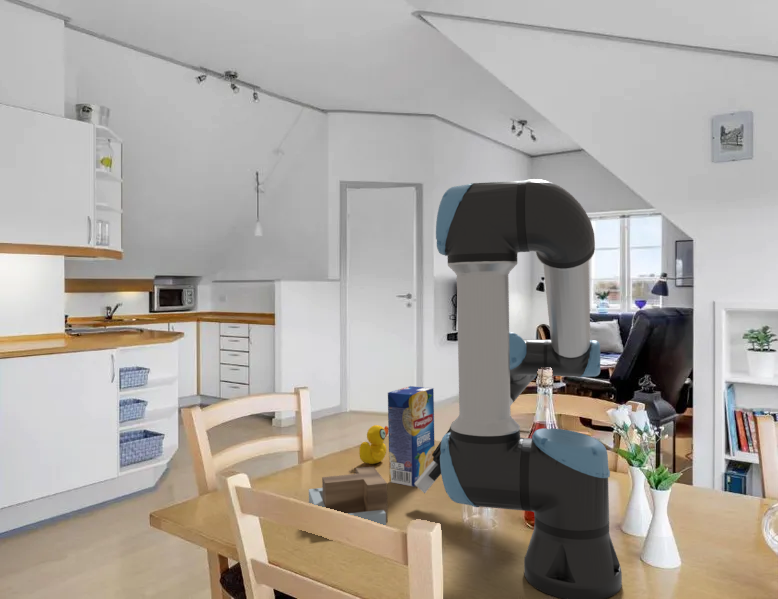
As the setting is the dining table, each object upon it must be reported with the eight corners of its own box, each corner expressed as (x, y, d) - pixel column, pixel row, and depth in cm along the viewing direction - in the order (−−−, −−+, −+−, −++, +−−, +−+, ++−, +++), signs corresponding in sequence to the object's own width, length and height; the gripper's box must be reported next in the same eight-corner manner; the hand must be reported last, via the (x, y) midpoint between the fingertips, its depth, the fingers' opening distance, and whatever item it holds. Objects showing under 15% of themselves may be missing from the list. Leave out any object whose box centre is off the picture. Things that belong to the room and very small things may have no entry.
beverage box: (435, 474, 154) (433, 388, 153) (413, 486, 144) (411, 394, 144) (411, 470, 157) (410, 386, 157) (389, 482, 148) (387, 392, 148)
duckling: (380, 456, 171) (379, 420, 171) (395, 459, 168) (394, 423, 168) (354, 465, 162) (353, 428, 162) (369, 469, 159) (369, 431, 159)
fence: (386, 528, 120) (385, 513, 120) (320, 536, 116) (320, 520, 116) (365, 496, 138) (365, 483, 138) (308, 502, 135) (308, 489, 135)
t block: (387, 522, 123) (386, 483, 123) (329, 529, 120) (328, 489, 120) (373, 502, 134) (373, 466, 134) (320, 508, 131) (319, 471, 131)
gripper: (512, 423, 130) (441, 509, 126) (486, 411, 142) (421, 489, 138) (489, 400, 128) (416, 487, 124) (465, 390, 141) (398, 469, 137)
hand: (419, 488), depth 131 cm, fingers closed
